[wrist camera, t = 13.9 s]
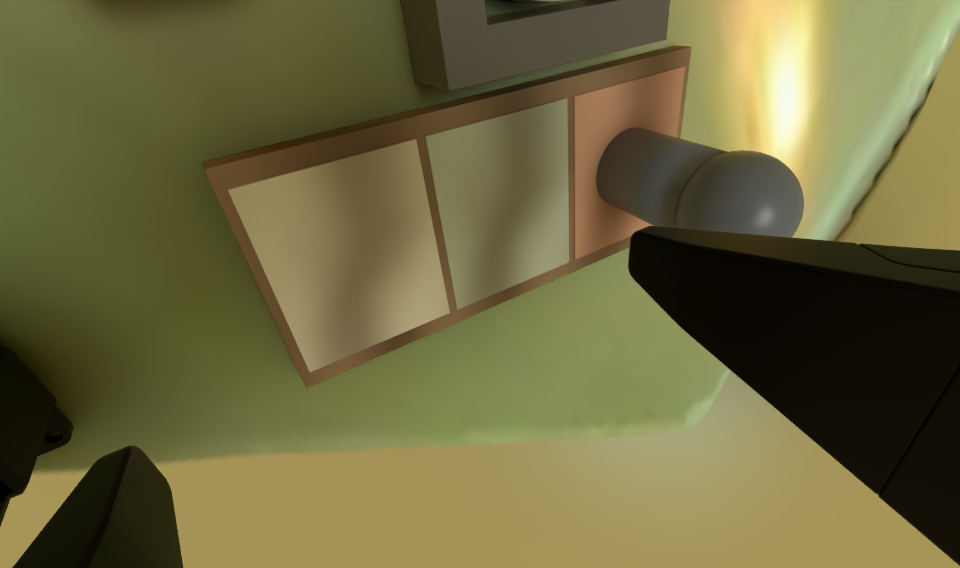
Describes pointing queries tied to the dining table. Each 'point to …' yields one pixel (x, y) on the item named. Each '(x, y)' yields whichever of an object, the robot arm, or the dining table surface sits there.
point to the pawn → (699, 185)
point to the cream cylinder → (535, 0)
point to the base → (521, 36)
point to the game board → (439, 207)
